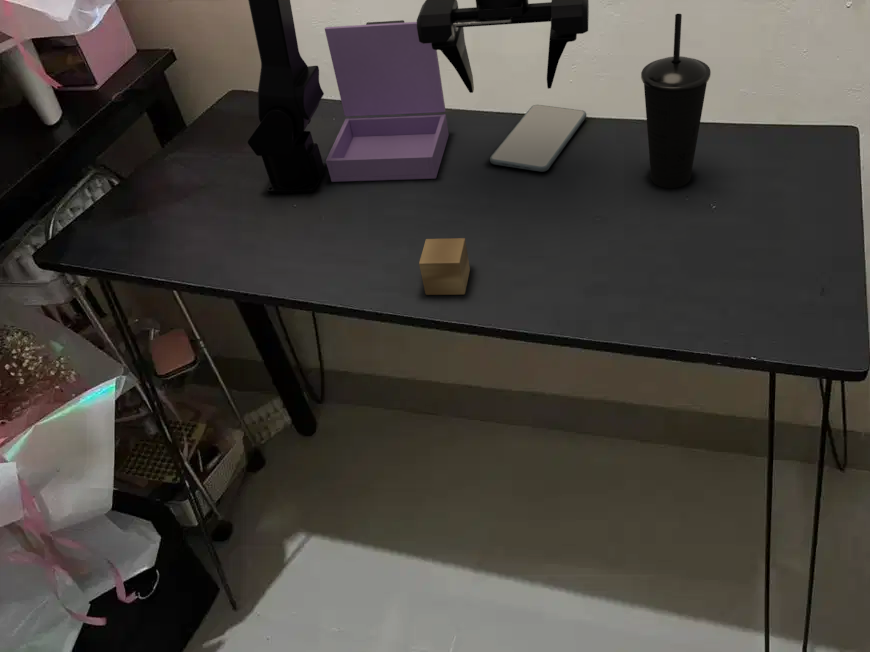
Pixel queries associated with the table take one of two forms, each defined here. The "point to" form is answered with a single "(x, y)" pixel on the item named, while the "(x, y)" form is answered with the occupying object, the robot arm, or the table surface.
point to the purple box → (388, 148)
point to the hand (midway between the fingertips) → (510, 89)
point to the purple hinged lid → (385, 69)
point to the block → (445, 266)
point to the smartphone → (538, 138)
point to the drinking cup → (674, 113)
